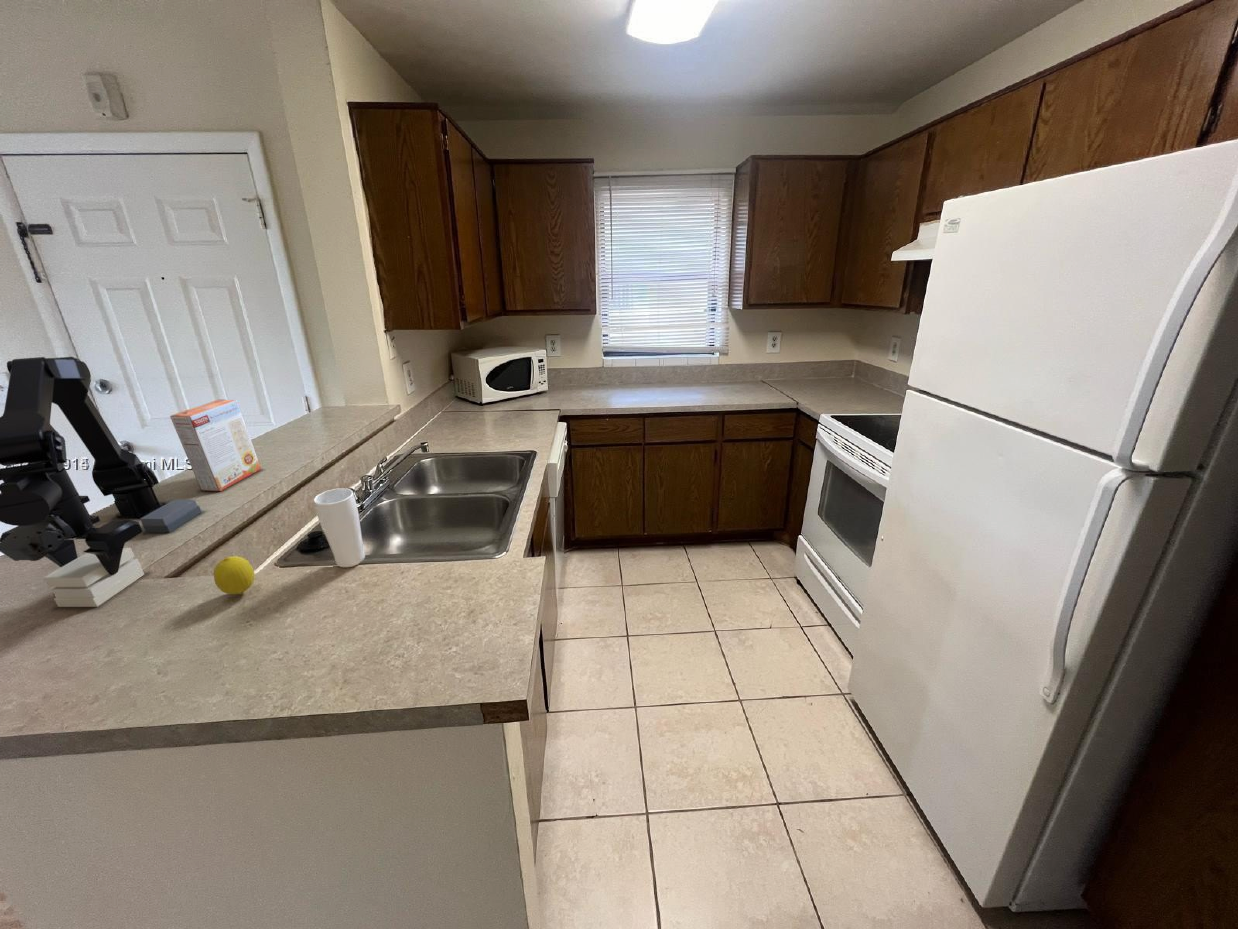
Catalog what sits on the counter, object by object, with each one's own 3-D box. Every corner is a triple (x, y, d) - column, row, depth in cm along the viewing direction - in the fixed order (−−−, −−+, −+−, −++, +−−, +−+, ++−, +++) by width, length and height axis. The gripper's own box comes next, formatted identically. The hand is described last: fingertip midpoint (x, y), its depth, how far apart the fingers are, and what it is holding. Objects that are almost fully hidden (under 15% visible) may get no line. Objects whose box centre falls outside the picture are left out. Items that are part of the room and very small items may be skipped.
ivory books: (109, 574, 91) (101, 558, 90) (145, 574, 91) (137, 558, 90) (58, 607, 83) (48, 590, 81) (97, 607, 83) (88, 590, 82)
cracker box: (243, 468, 136) (218, 398, 127) (262, 469, 135) (239, 399, 126) (198, 491, 123) (167, 414, 114) (220, 492, 122) (190, 415, 114)
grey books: (180, 512, 113) (174, 499, 112) (202, 512, 113) (196, 499, 112) (145, 532, 105) (139, 518, 103) (169, 532, 105) (163, 518, 103)
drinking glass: (344, 575, 92) (325, 508, 86) (325, 564, 95) (305, 498, 89) (376, 557, 97) (360, 493, 91) (357, 547, 100) (341, 484, 94)
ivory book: (100, 556, 90) (95, 547, 89) (135, 556, 90) (130, 547, 89) (48, 587, 81) (42, 577, 81) (87, 587, 81) (81, 577, 81)
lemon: (219, 607, 83) (203, 570, 80) (226, 589, 88) (211, 553, 84) (257, 597, 86) (243, 561, 82) (262, 580, 90) (248, 545, 87)
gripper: (-67, 523, 72) (-11, 604, 78) (58, 523, 72) (103, 604, 79) (17, 489, 82) (61, 563, 88) (126, 490, 82) (161, 563, 89)
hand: (95, 573), depth 86 cm, fingers closed on ivory book, 6 cm apart
